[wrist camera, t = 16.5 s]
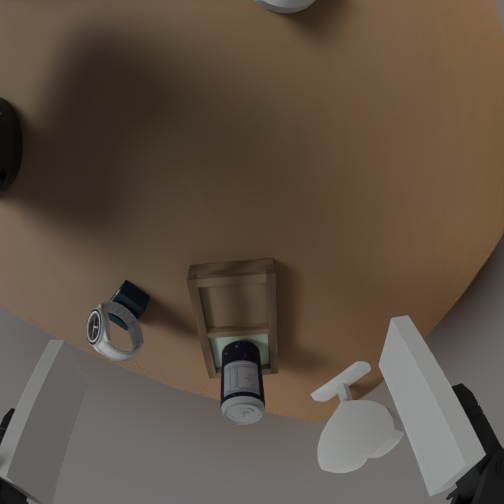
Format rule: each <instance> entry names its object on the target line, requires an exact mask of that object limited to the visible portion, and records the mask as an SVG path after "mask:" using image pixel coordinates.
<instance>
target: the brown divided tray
mask: <svg viewBox="0 0 504 504" xmlns="http://www.w3.org/2000/svg"><path fill="white" fill-rule="evenodd" d="M187 283H188V288H189V293H190V297H191V302H192V307H193V311H194V316H195V320H196V325H197V329H198V333H199V338H200V342H201V346H202V350H203V354H204V358H205V363H206V367H207V371H208V374H209V378H221V364H222V350H223V348H224V347H225V346H226V345H228V344H229V343H231V342H234V341H237V340H245V341H248V342H251V343H253V344H255V345H256V346H257V347H258V348H259V350H260V358H261V369H262V375H265V374H276V373H278V337H277V299H276V272H275V268H274V263H273V258H270V259H258V260H246V261H234V262H222V263H210V264H197V265H190V268H189V273H188V278H187Z"/></svg>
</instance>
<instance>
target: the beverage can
mask: <svg viewBox="0 0 504 504" xmlns="http://www.w3.org/2000/svg"><path fill="white" fill-rule="evenodd" d="M264 408H265V399H264V389H263V379H262V369H261V358H260V350H259V348H258V347H257V346H256V345H255V344H253V343H251V342H248V341H245V340H237V341H234V342H231V343H229V344H228V345H226V346H225V347H224V348H223V350H222V364H221V410H222V412H223V413H224V417H225V419H226V420H227V421H229V422H231V423H234V424H251V423H253V422H256V421H258V420H259V419H261V417H262V415H263V411H264Z"/></svg>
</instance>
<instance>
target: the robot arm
mask: <svg viewBox="0 0 504 504" xmlns="http://www.w3.org/2000/svg"><path fill="white" fill-rule="evenodd" d="M21 157H22V136H21V130H20V126H19V122H18V119H17V117H16V115H15V113H14V111H13V110H12V108H11V107H10V106H9V104H8V103H7V102H5V101H4V100H3V99H1V98H0V193H2V192H4V191H5V190H6V189H7V188H8V187H9V186H10V185H11V184H12V182H13V181H14V179H15V177H16V175H17V173H18V170H19V167H20V163H21ZM379 368H380V370H381V372H382V375H383V377H384V379H385V381H386V384H387V386H388V389H389V391H390V393H391V395H392V398H393V400H394V403H395V405H396V408H397V410H398V413H399V415H400V417H401V420H402V422H403V425H404V427H405V430H406V432H407V435H408V438H409V440H410V443H411V445H412V448H413V451H414V453H415V456H416V459H417V461H418V464H419V467H420V470H421V472H422V475H423V478H424V481H425V484H426V486H427V489H428V492H429V495H430V496H432V495H435V494H437V493H440V492H442V491H444V490H447V489H449V488H450V487H451V486H452V485H453V484H455V483H456V485H457V488H456V489H455V490H454V491H453V492H451V493H450V494H449V495H448V497H447V498H446V500H449V499H450V498H452V497H453V499H452V501H451V504H504V449H503V448H502V446H501V445H500V443H499V442H498V440H497V438H496V436H495V434H494V432H493V430H492V428H491V426H490V424H489V422H488V420H487V418H486V417H485V415H484V414H483V411H482V409H481V407H480V406H479V405H478V402H477V400H476V399H475V397H474V395H473V393H472V392H471V391H470V390H469V389H467V388H466V387H465V386H464V385H463V384H462V383H461V384H458V385H455V386H452V387H451V386H450V384H449V383H448V380H447V379H446V377H445V375H444V373H443V372H442V370H441V368H440V367H439V365H438V363H437V361H436V360H435V358H434V356H433V355H432V353H431V351H430V350H429V348H428V346H427V345H426V343H425V341H424V340H423V338H422V337H421V335H420V333H419V332H418V330H417V329H416V327H415V325H414V324H413V322H412V321H411V319H410V318H409V316H408V315H406V316H400V317H394V318H391V321H390V325H389V329H388V333H387V337H386V340H385V344H384V348H383V351H382V355H381V358H380V362H379ZM87 386H88V381H87V380H86V378H85V376H84V375H83V373H82V372H81V370H80V368H79V366H78V365H77V363H76V361H75V359H74V358H73V356H72V354H71V352H70V350H69V348H68V346H67V345H66V343H65V341H64V340H50V342H49V343H48V345H47V347H46V349H45V351H44V353H43V354H42V356H41V358H40V360H39V362H38V364H37V366H36V368H35V370H34V372H33V374H32V376H31V378H30V380H29V382H28V384H27V386H26V388H25V390H24V392H23V395H22V396H21V398H20V401H19V403H18V405H17V407H16V409H13V408H11V410H10V411H9V412H8V413H7V414H6V415H5V416H4V418H3V421H2V423H1V425H0V504H28V502H27V501H26V500H27V497H28V498H30V499H31V500H33V501H34V502H36V503H39V504H52V502H53V498H54V494H55V490H56V486H57V482H58V478H59V474H60V470H61V467H62V463H63V460H64V456H65V453H66V450H67V446H68V443H69V440H70V436H71V433H72V430H73V427H74V424H75V420H76V418H77V415H78V412H79V409H80V406H81V403H82V400H83V397H84V394H85V391H86V388H87Z"/></svg>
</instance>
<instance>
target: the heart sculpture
mask: <svg viewBox="0 0 504 504" xmlns="http://www.w3.org/2000/svg"><path fill="white" fill-rule="evenodd" d="M369 371H371V367H370V364H369V363H367V362H362V361H357V362H355V363H354V364H353V365H351V366H350V367H349V368H347V369H346V370H344V371H343V372H342V373H340V374H339V375H338V376H336V377H335V378H333V379H332V380H331V381H329V382H328V383H326V384H325V385H323V386H322V387H320V388H319V389H318V390H316V391H315V392H313V393H312V394H311V396H312V398H313V399H314V400H315V401H328V400H329V399H331V398H332V397H334V396H335V395H337V394H338V395H339V399H340V402H341V403H340V404H339V406H338V408H337V409H336V411H335V412H334V414H333V415H332V417H331V418H330V419H329V421H328V423H327V425H326V426H325V429H324V430H323V432H322V434H321V437H320V441H319V444H318V462H319V464H320V467H321V469H322V470H325V471H329V472H335V473H346V472H350V471H354V470H356V469H358V468H360V467H361V466H362V465H363V464H364V463H365V462H366V460H367V459H368V458H378V457H381V456H383V455H384V454H386V453H387V452H389V451H390V450H391V449H392V448H393V447H394V446H395V445H396V444H397V443H398V442H399V441H400V440H401V438H402V436H403V434H404V431H403V425H402V422H401V420H400V419H399V417H398V416H397V414H396V413H395V412H394V411H392V410H391V409H389V408H387V407H385V406H383V405H380V404H379V403H377V402H375V401H367V400H352V397H351V394H350V391H349V387H348V386H350V385H351V384H353V383H354V382H356V381H357V380H358V379H360V378H361V377H363V376H364V375H365V374H367V373H368V372H369Z"/></svg>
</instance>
